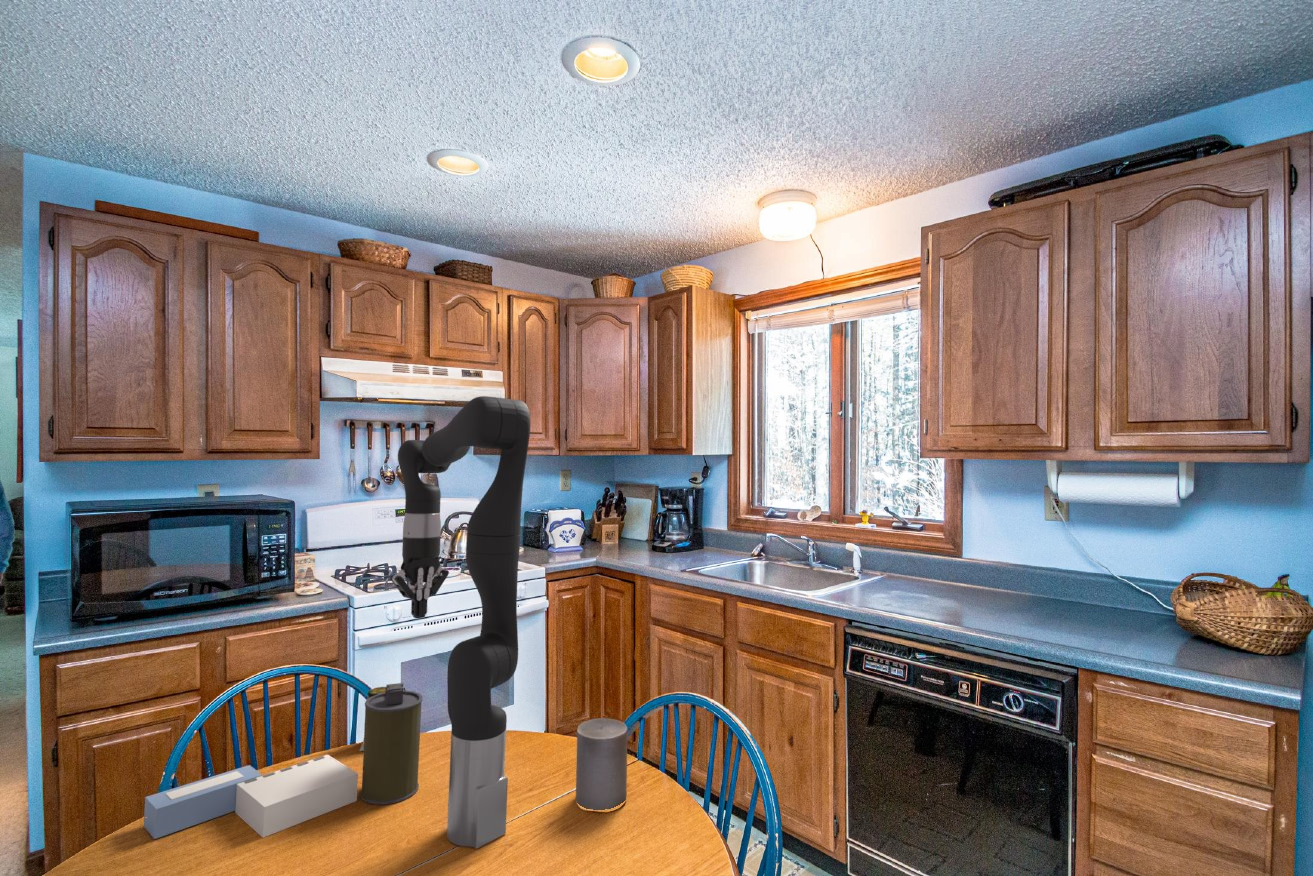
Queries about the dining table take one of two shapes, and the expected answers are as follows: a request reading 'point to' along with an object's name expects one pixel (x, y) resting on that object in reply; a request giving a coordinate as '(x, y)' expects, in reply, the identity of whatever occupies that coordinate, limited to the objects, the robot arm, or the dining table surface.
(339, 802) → the white box
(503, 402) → the robot arm
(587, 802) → the pillar candle
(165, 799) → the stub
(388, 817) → the dining table surface
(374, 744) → the canister
